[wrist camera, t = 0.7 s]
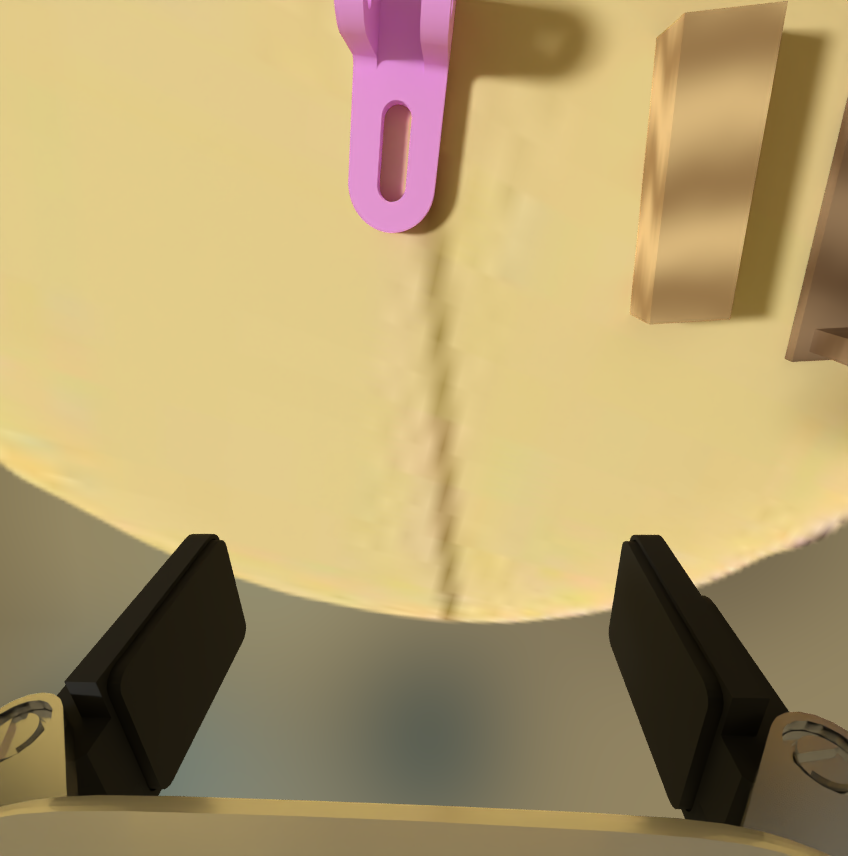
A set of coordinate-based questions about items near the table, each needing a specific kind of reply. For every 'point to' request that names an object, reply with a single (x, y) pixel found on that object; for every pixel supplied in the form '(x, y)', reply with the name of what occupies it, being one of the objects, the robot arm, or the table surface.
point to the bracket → (396, 99)
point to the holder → (826, 273)
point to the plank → (702, 159)
